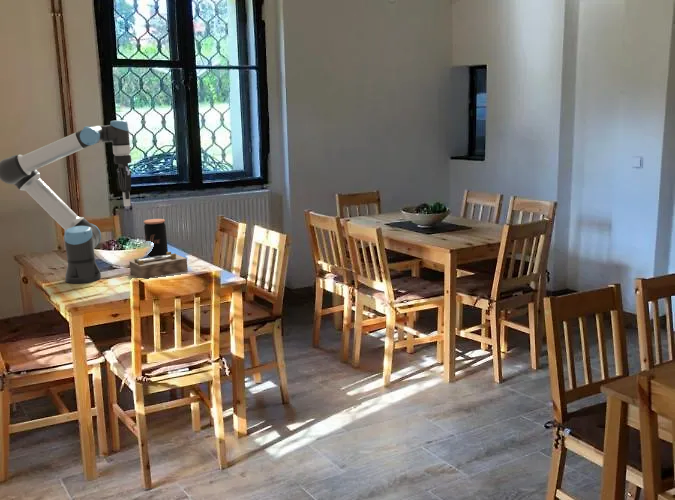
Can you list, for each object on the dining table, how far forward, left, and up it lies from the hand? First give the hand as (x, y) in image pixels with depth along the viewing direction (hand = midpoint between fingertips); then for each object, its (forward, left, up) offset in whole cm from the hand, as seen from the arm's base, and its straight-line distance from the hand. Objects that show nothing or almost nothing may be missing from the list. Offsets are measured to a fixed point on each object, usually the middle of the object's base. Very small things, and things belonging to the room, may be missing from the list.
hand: (127, 205), depth 329 cm
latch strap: (+6, -14, -24) cm, 29 cm away
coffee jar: (+21, +23, -31) cm, 44 cm away
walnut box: (+7, -14, -30) cm, 34 cm away
